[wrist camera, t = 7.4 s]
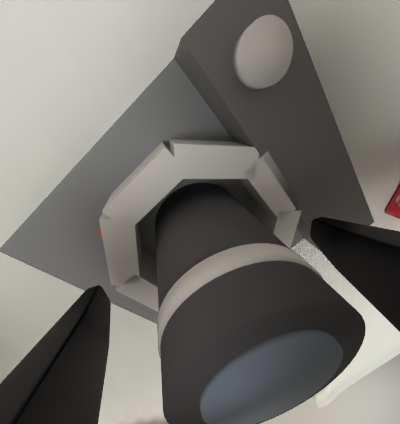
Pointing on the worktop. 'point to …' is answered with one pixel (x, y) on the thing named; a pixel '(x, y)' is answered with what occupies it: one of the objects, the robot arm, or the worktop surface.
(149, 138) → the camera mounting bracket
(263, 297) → the lens
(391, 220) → the worktop surface
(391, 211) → the ink box
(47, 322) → the worktop surface
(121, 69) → the worktop surface
